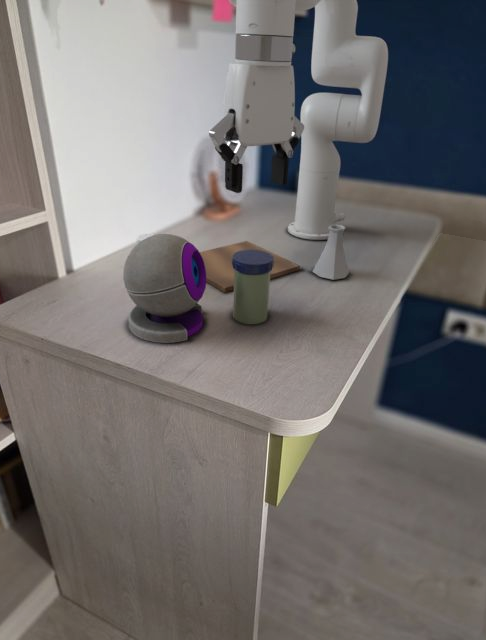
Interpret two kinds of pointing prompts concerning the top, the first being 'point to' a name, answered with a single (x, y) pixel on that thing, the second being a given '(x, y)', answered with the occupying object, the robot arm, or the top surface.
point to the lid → (252, 262)
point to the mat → (223, 271)
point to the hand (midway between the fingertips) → (256, 186)
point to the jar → (251, 297)
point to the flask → (333, 256)
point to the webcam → (165, 288)
